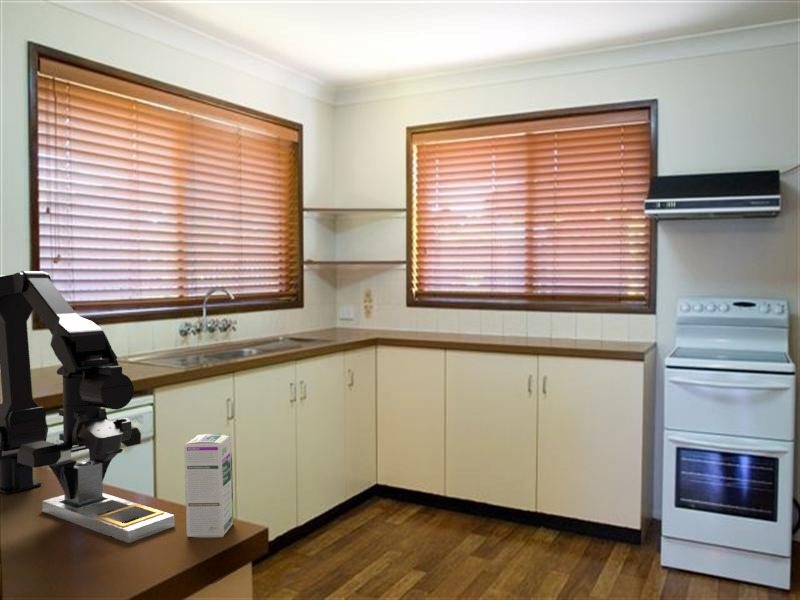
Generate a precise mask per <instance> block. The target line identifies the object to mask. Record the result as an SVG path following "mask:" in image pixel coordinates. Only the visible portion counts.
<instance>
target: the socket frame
mask: <svg viewBox="0 0 800 600" xmlns="http://www.w3.org/2000/svg"><path fill="white" fill-rule="evenodd" d="M41 506H42V507H41V508H42V512H43V513H46V514H48V515H51V516H54V517H56V518H59V519H62V520H64V521H68V522H70V523H73V524H76V525H79V526H82V527H83V528H87V529H89V530H91V531H95V532H97V533H99V534H103V535H105V536H108V537H110V536H112V537H111V538H113V537H114V539H116V540H119V541H122V542H124V543H127V544H131V543H133V542H136V541H139V540H141V539H142V540H143V538H148V537H150V536H152V535H155V534H158V533H160V532H163V531H166V530H169V529H171V528H174V527H175V515H174V514H172V513H169V512H167V511H163V510H159V509H156V508H152V507H149V506H146V505H143V504H140V503H138V502H137V503H136V502H134V501H131V500H130V501H129V500H128V499H123V498H120V497H117V496H114V495H111V494H107V493H104V492H103V501H100V502H96V503H93V504H90V505H86V506H83V507H80V508H75V507H72V506H69V505H66V504H65V495H64V494H63V495H62V494H61V495H59V496H55V497H51V498H48V499H44V500H42V504H41ZM113 510H114V511H113ZM108 511H109V512H108ZM137 518H138V519H137ZM134 519H135V520H134ZM131 520H132V521H131ZM125 521H126V522H125ZM128 521H129V522H128ZM122 522H123V523H122Z"/></svg>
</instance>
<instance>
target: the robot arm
mask: <svg viewBox="0 0 800 600" xmlns="http://www.w3.org/2000/svg"><path fill="white" fill-rule="evenodd" d="M33 312H35V313H36V314H37V316H38V317H39V318H40V320H42V322H43V324H44V325H45V326H46V328H47V330H49V332H50V334H51V340H50V347H51V349H52V350H53V353H54V355H55V357H56V358H57V359H58V361H59V362H60V364H62V365H61V366H60V367H59V368H57V371H56V374H57V375H59V376H62V408H60V409H58V416H60V417H63V418H62V419H63V421H62V424H63V427H62V428H63V431H62V433H59V435H58V436H59V441H63V442H60V443H59V442H58V443H54V442H50V441H47V438H48V432H49V427H48V423H47V410H46V409H45V407H44V406H40V405H39V404H38V403H37V402H36V401H35V399H34V396H33V384H32V382H33V381H32V371H31V370H32V369H31V358H30V347H29V335H28V334H29V332H28V321H29V318H30V316H31V315H32V313H33ZM0 382H1V396H2V397H1V398H2V401H1V402H2V403H1V404H0V493H2V494H5V495H8V494H13V493H16V492H20V491H24V490H29V489H32V488H36V487H39V486H42V485H43V484H42V481H38V480H35V479H34V468H42V467H47V466H48V467H49V468H50V469H51V471H52V472H53V474H54V475H55V477H56V479H57V482H58V483H59V484H60V486H61V489H62V490H63V493H65V494H66V496H67V498H68V499H70V500H72V499H73V496H74V481H73V468H74V466H75V464H76V462H78V461H77V460H75V459H72V453H76V452H80V451H86V450H88V453H89V460H93V461H97V462H101V463H102V483H103V482H104V478H105V477H106V474H107V470H108V468H109V466H110V463H111V462H112V460H113V459H115V457H116V456H117V455H118V454H122V452H123V451H124V450H123V449H122V448H121V446H122V445H123V446H125V447H132V446H137V445H141V444H142V433H141V430H140V429H139V428H138V427H135V426H132V421H131V420H130V418H128V417H122V418H117V419H116V420H109V419H108V416H107V414H108V413H107V411H106V410H107V409H110V410H120V409H123V408H125V407H126V406H128V404H129V403H130V402H131V401H132V399H133V397H134V394H135V393H134V392H135V386H134V384H133V381H132V380H131V378H130V377H129V376H128V375H127V374H125V373H123V367H122V366H121V365H119V362H118V356H117V355H116V353H115V351H114V350H113V348H112V346H111V343H110V341H109V339H108V337H107V335H106V333H105V332H104V330H103V329H102V328H101V327H100V326H99V325H97V324H96V323H95V322H93V320H89V319H87V318H85V317H82V316H81V315H79V314H78V313H76V311H75V310H74V309H73V307H72V306H71V305H70V304H69V303H68V301H67V300H66V299H65V297H64V296H63V295H62V294H61V292H60V291H59V290H58V288H57V287H56V285H54V283H52V277H51V276H50V274H49V273H48V272H45V271H43V270H42V271H41V270H39V271H37V270H34V271H33V270H21V271H20V272H16V273H13V274H8V275H0Z"/></svg>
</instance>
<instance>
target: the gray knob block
mask: <svg viewBox="0 0 800 600" xmlns="http://www.w3.org/2000/svg"><path fill="white" fill-rule="evenodd" d="M73 481H74V496H73V499H72V500H70V499H68V498H67V496H66V494H65V493H64V492H63V493H64V494H63V495H65V504H66V505H69V506H72V507H75V508H80V507H83V506H86V505H90V504H93V503H96V502H100V501H103V493H104V491H103V482H102V463H101V462H97V461H93V460H90V458H89V459H88V458H87V459H82V460H79V461H77V462H76V464H75V466H74V468H73Z"/></svg>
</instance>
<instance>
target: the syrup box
mask: <svg viewBox="0 0 800 600" xmlns="http://www.w3.org/2000/svg"><path fill="white" fill-rule="evenodd" d="M232 440H233V439H232V435H231V434H227V433H203V434H197V435H195V437H194V438H192V439H190V440H189V441H188V442H186V443H184V479H185V480H184V481H185V485H184V486H185V491H184V492H185V517H186V518H185V519H186V520H185V522H186V537H190V538H223V537H224V536H225V534H226V533H227V532H228V531H229V530H230V528H231V527H232V526H233V524H234V523H235V522H234V520H235V519H234V518H235V517H234V489H233V488H234V486H233V485H234V482H233V480H234V479H233V451H232V450H233V449H232V448H233V446H232V443H233V442H232Z"/></svg>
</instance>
